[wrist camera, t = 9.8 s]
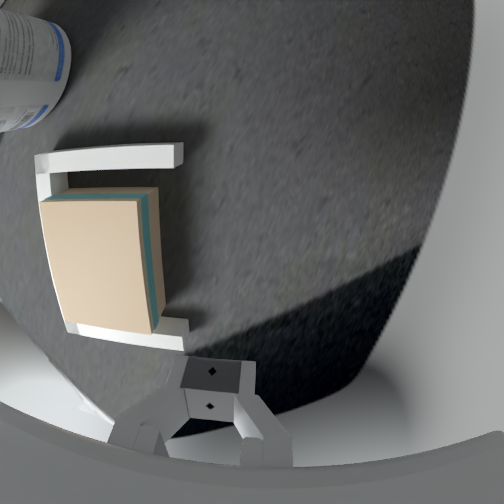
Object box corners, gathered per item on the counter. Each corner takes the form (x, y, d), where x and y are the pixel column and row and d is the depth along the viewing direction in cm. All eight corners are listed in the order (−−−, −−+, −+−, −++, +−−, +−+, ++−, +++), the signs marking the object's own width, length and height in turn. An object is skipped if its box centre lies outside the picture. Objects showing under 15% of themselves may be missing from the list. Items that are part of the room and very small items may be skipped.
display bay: (52, 150, 20) (34, 155, 18) (183, 142, 20) (173, 144, 18) (79, 317, 27) (67, 332, 24) (189, 332, 27) (183, 350, 24)
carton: (71, 187, 22) (38, 201, 18) (159, 185, 22) (137, 200, 18) (87, 294, 26) (64, 321, 22) (167, 303, 26) (152, 335, 22)
